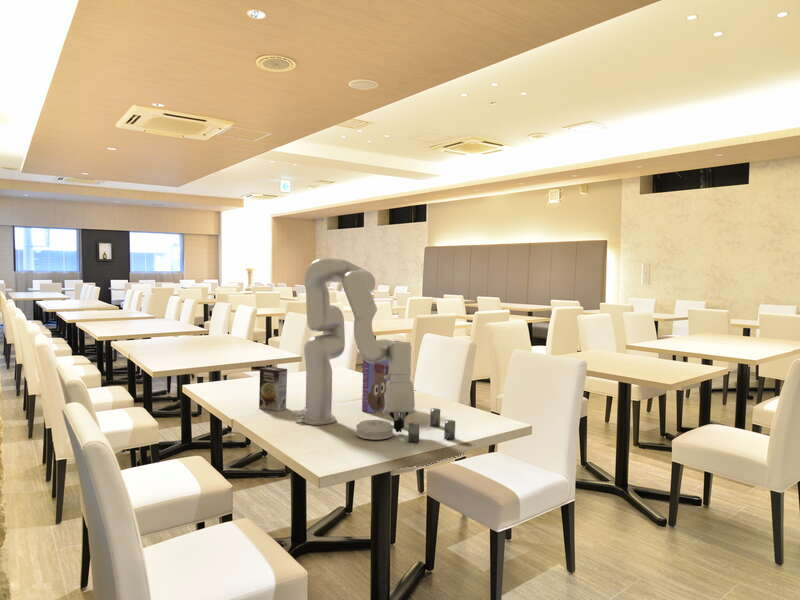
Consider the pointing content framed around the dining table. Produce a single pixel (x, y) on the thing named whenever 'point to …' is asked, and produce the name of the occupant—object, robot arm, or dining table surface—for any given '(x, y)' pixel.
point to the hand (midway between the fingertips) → (398, 430)
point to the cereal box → (374, 385)
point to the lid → (374, 429)
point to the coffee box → (273, 388)
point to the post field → (435, 422)
